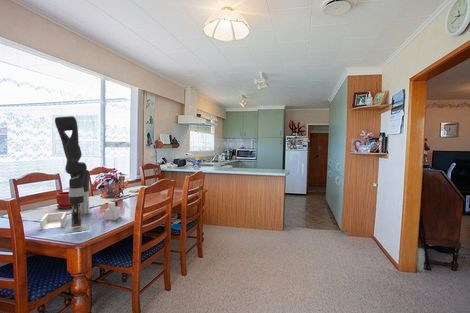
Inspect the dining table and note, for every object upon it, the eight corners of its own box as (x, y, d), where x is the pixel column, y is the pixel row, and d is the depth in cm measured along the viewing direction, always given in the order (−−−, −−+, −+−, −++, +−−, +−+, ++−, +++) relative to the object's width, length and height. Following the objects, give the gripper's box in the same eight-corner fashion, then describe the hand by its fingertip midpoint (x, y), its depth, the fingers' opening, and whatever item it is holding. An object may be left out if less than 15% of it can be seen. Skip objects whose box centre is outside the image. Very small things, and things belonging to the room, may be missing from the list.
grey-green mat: (87, 225, 146) (87, 224, 146) (86, 230, 137) (85, 229, 137) (67, 228, 141) (67, 226, 141) (65, 233, 132) (65, 231, 132)
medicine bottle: (110, 216, 165) (110, 200, 165) (120, 217, 165) (120, 200, 164) (105, 219, 158) (105, 202, 157) (115, 220, 158) (115, 203, 157)
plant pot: (60, 210, 177) (60, 195, 176) (53, 207, 184) (53, 193, 184) (79, 207, 188) (79, 192, 187) (72, 204, 195) (72, 190, 195)
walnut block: (81, 223, 142) (81, 209, 142) (80, 226, 138) (80, 211, 138) (72, 224, 140) (72, 210, 140) (71, 227, 136) (71, 212, 136)
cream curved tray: (67, 220, 155) (67, 211, 155) (64, 228, 141) (64, 218, 141) (45, 223, 149) (44, 214, 149) (39, 231, 135) (38, 221, 135)
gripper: (82, 196, 134) (83, 225, 135) (84, 192, 146) (84, 218, 147) (67, 198, 130) (67, 227, 131) (70, 193, 143) (70, 220, 143)
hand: (76, 222), depth 139 cm, fingers closed on walnut block, 4 cm apart
